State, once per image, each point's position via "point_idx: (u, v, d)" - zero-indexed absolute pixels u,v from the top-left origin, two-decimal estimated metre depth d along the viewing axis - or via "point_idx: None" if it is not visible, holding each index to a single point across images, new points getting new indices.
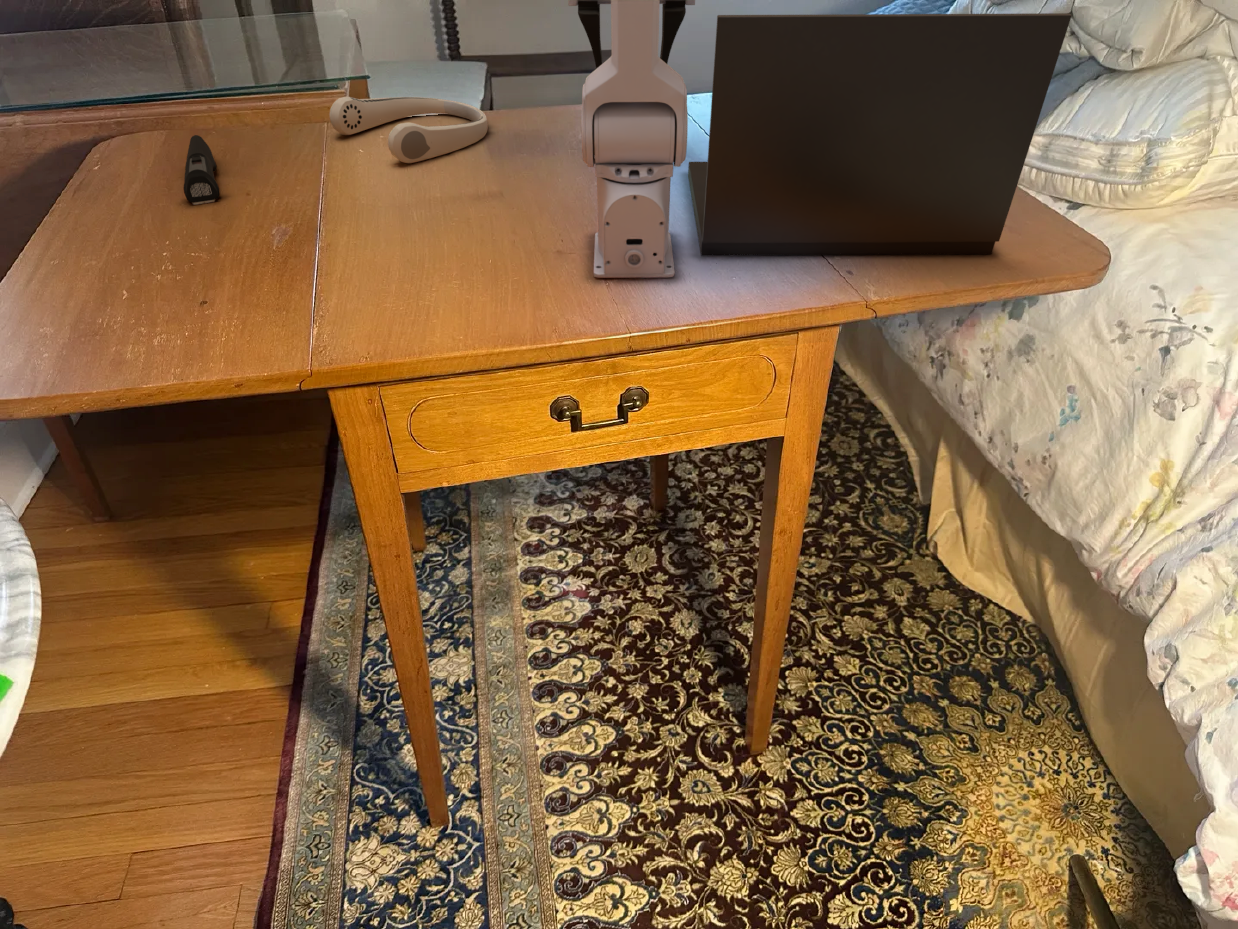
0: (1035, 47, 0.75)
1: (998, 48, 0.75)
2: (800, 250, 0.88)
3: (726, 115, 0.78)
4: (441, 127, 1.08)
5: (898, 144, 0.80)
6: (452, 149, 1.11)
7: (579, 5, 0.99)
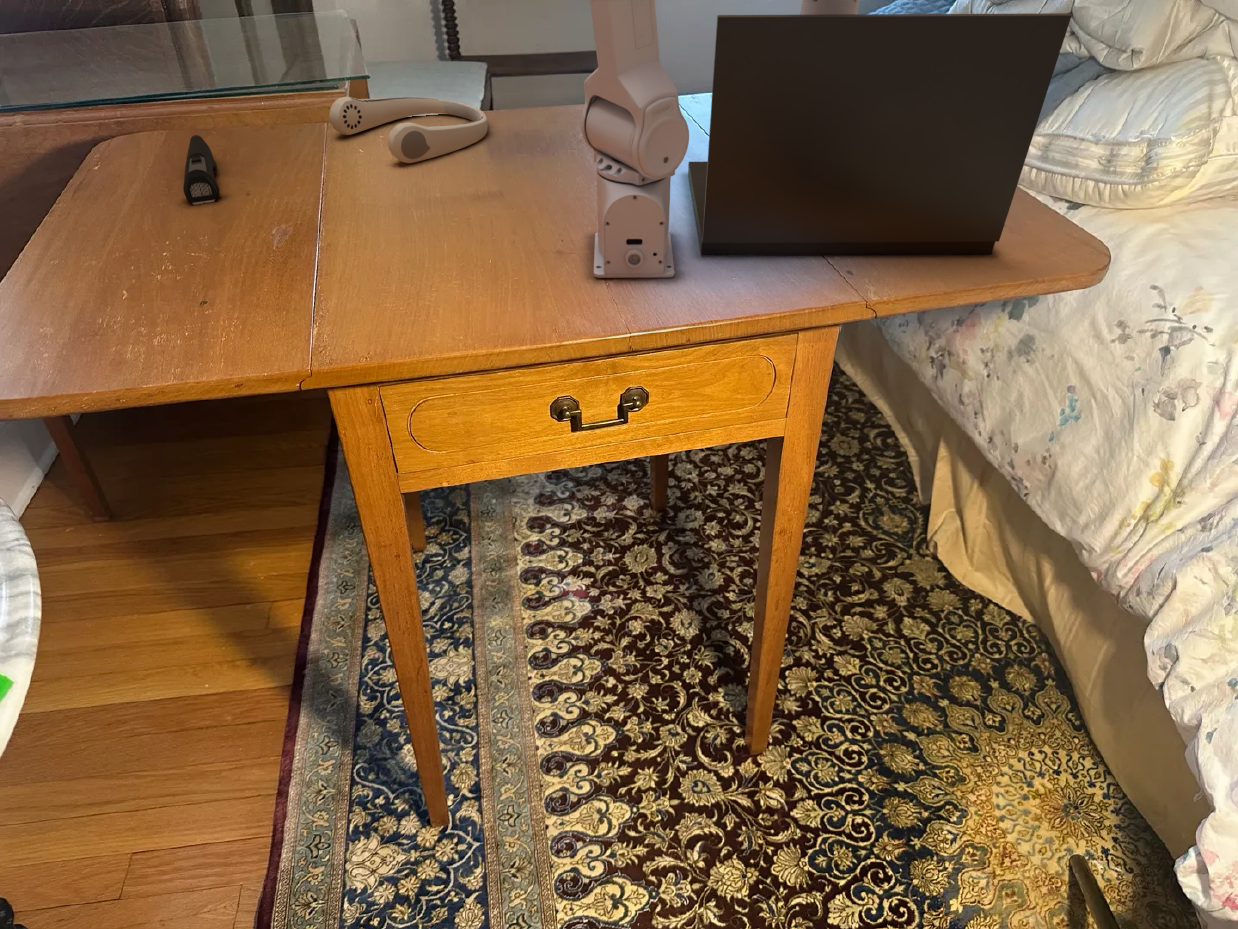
0: (1035, 47, 0.75)
1: (998, 48, 0.75)
2: (800, 250, 0.88)
3: (726, 115, 0.78)
4: (441, 127, 1.08)
5: (898, 144, 0.80)
6: (452, 149, 1.11)
7: None
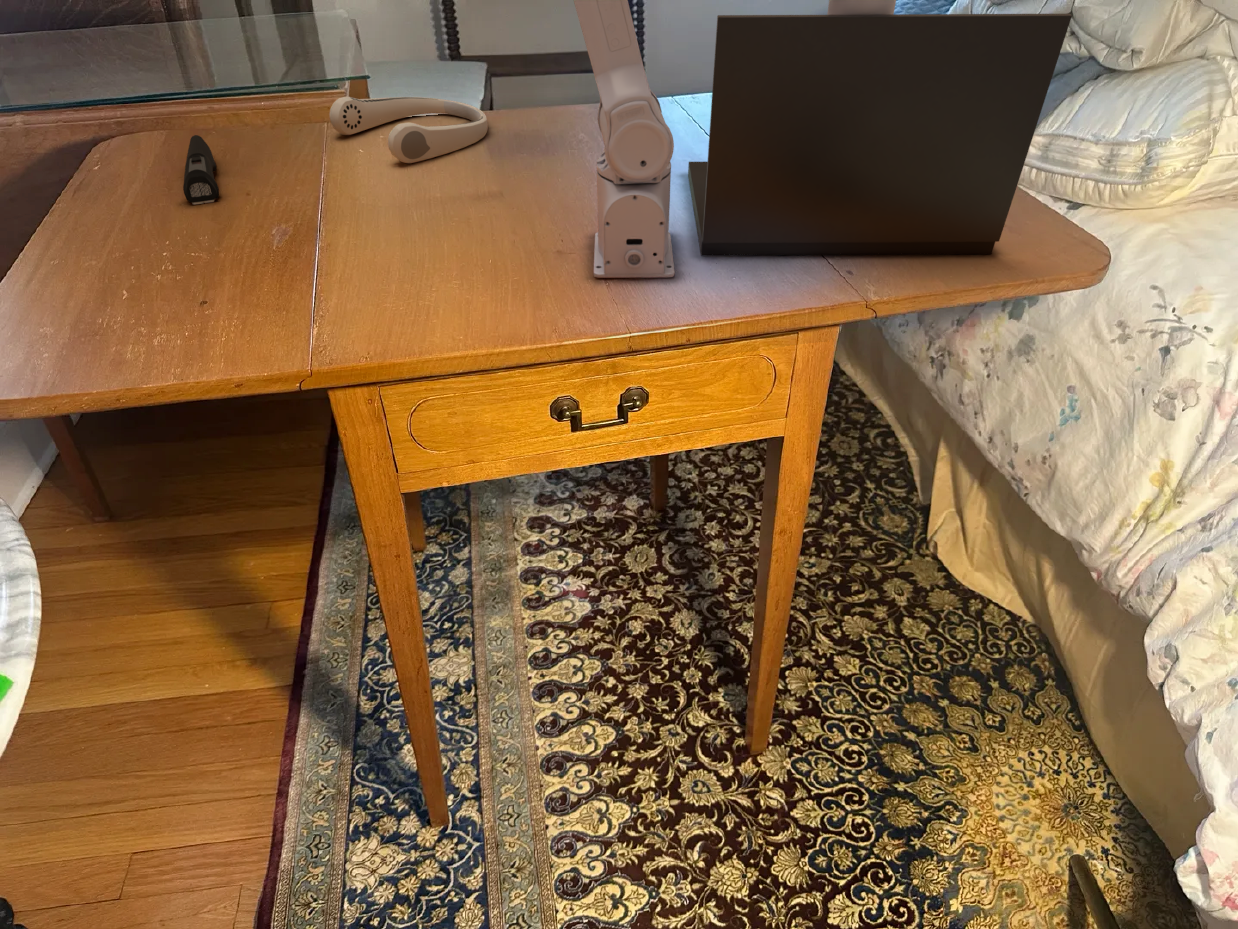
0: (1035, 47, 0.75)
1: (998, 48, 0.75)
2: (800, 250, 0.88)
3: (726, 115, 0.78)
4: (441, 127, 1.08)
5: (898, 144, 0.80)
6: (452, 149, 1.11)
7: None
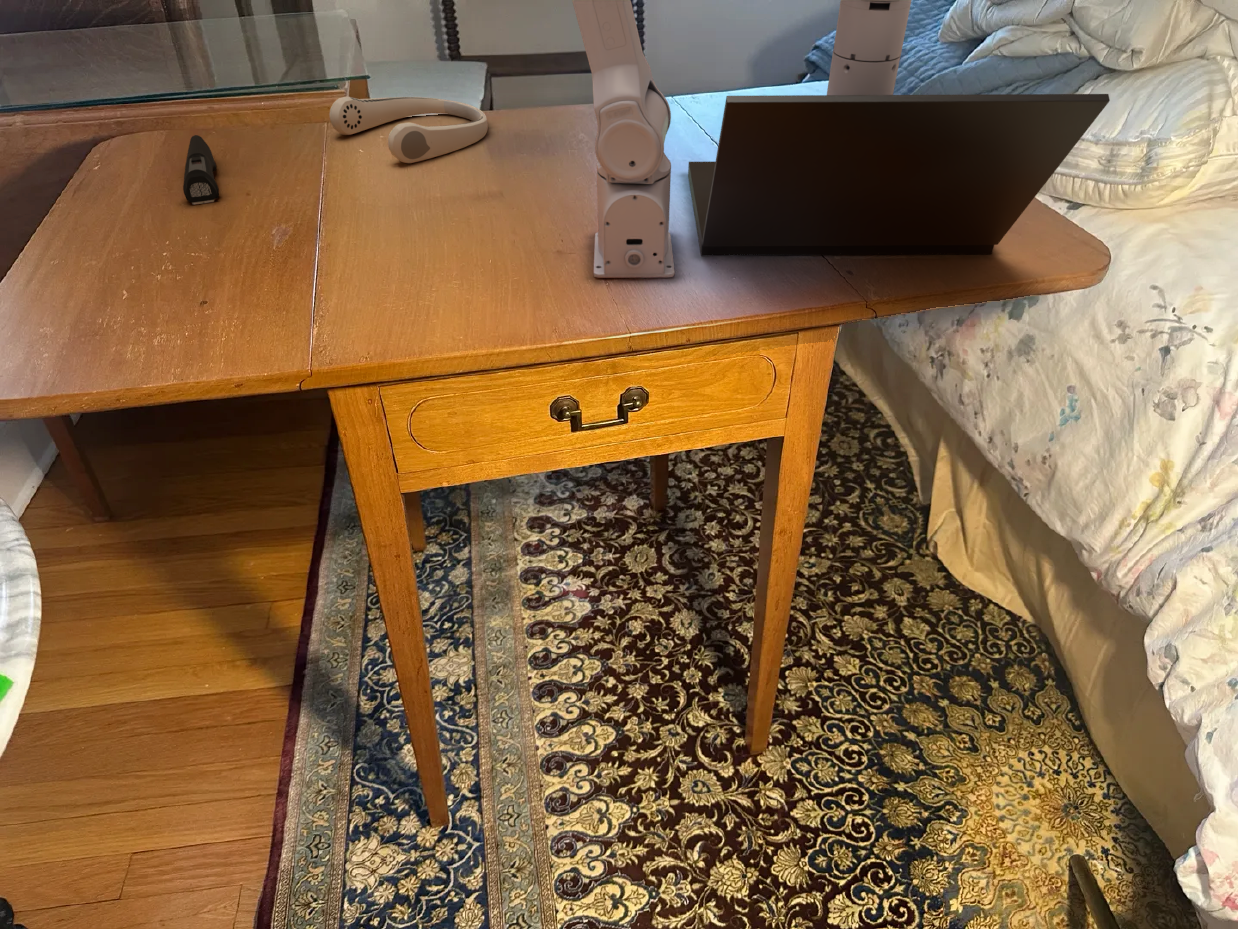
0: (1065, 122, 0.70)
1: (1025, 123, 0.70)
2: (800, 250, 0.88)
3: (731, 168, 0.75)
4: (441, 127, 1.08)
5: (907, 186, 0.78)
6: (452, 149, 1.11)
7: None
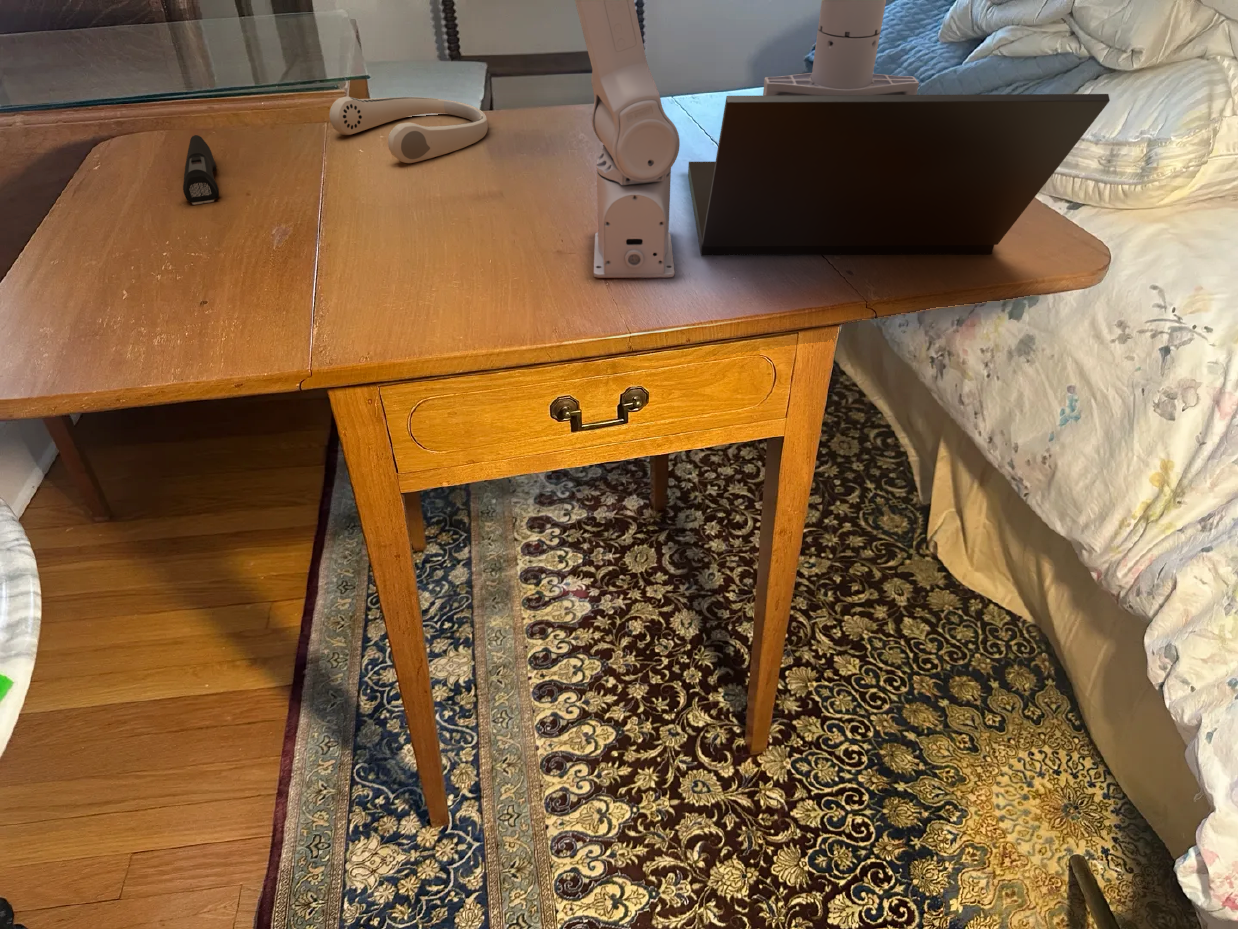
0: (1065, 122, 0.70)
1: (1025, 123, 0.70)
2: (800, 250, 0.88)
3: (731, 168, 0.75)
4: (441, 127, 1.08)
5: (907, 186, 0.78)
6: (452, 149, 1.11)
7: None
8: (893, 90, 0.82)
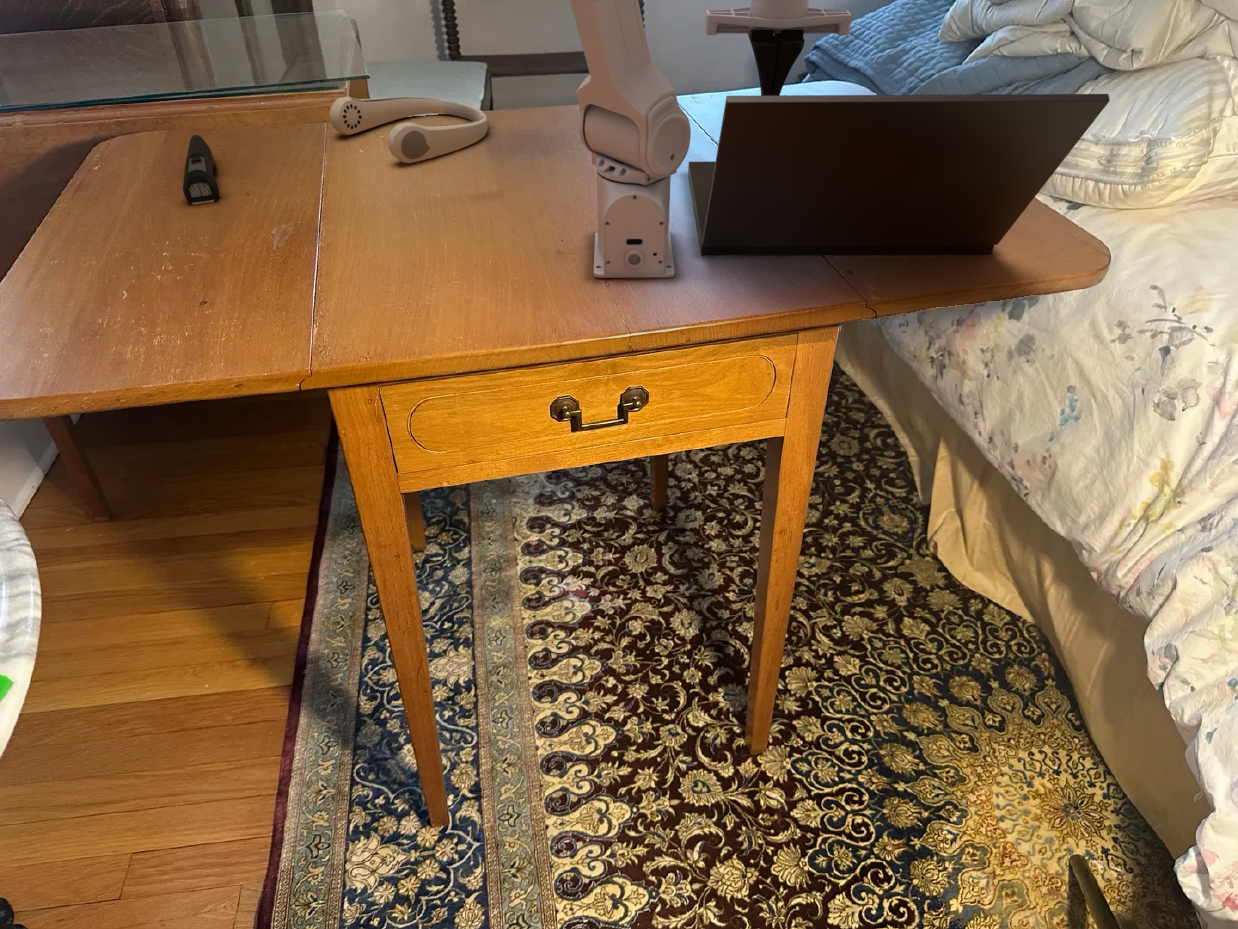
0: (1065, 122, 0.70)
1: (1025, 123, 0.70)
2: (800, 250, 0.88)
3: (731, 168, 0.75)
4: (441, 127, 1.08)
5: (907, 186, 0.78)
6: (452, 149, 1.11)
7: (753, 34, 0.88)
8: (827, 22, 0.86)
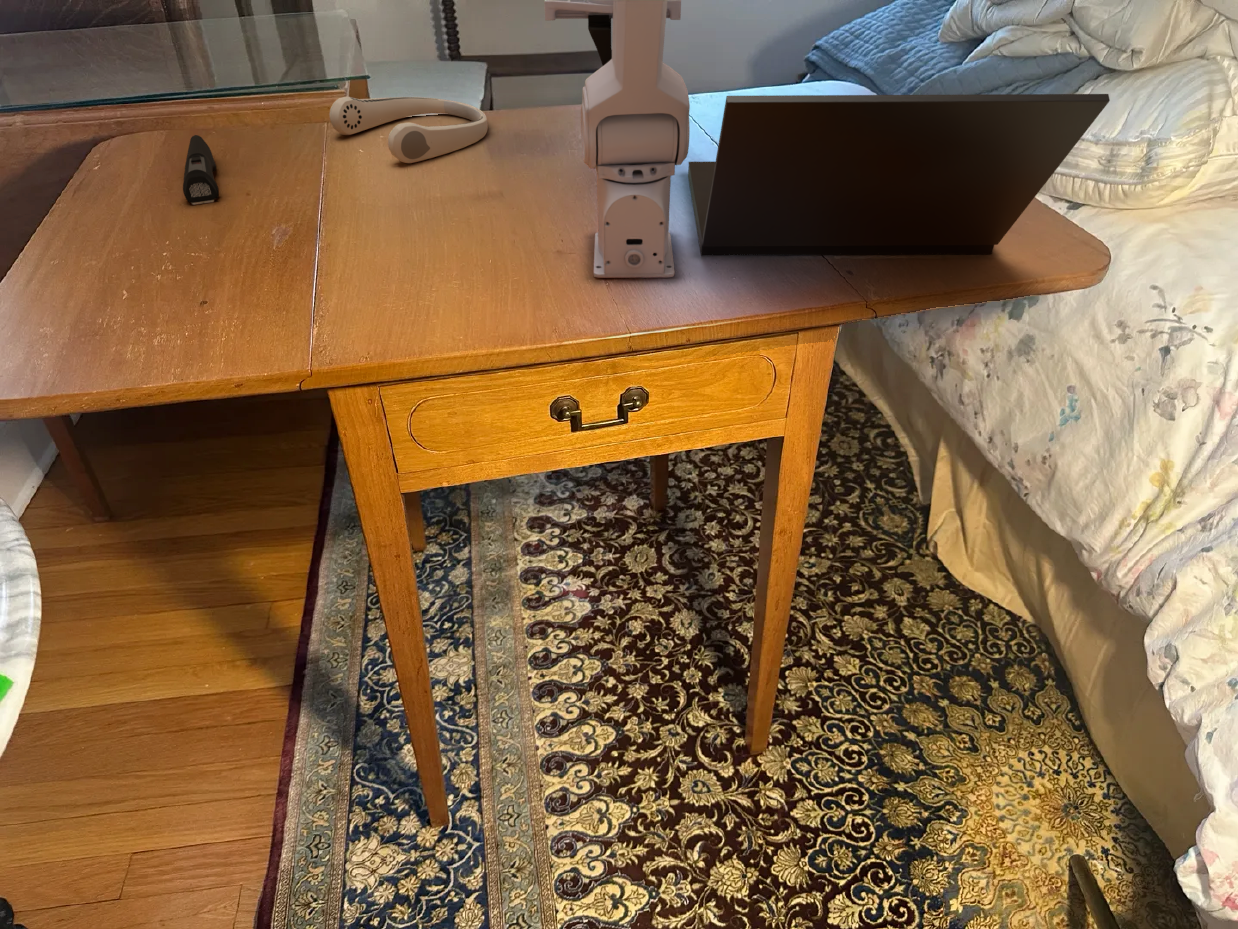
0: (1065, 122, 0.70)
1: (1025, 123, 0.70)
2: (800, 250, 0.88)
3: (731, 168, 0.75)
4: (441, 127, 1.08)
5: (907, 186, 0.78)
6: (452, 149, 1.11)
7: (589, 19, 0.92)
8: None
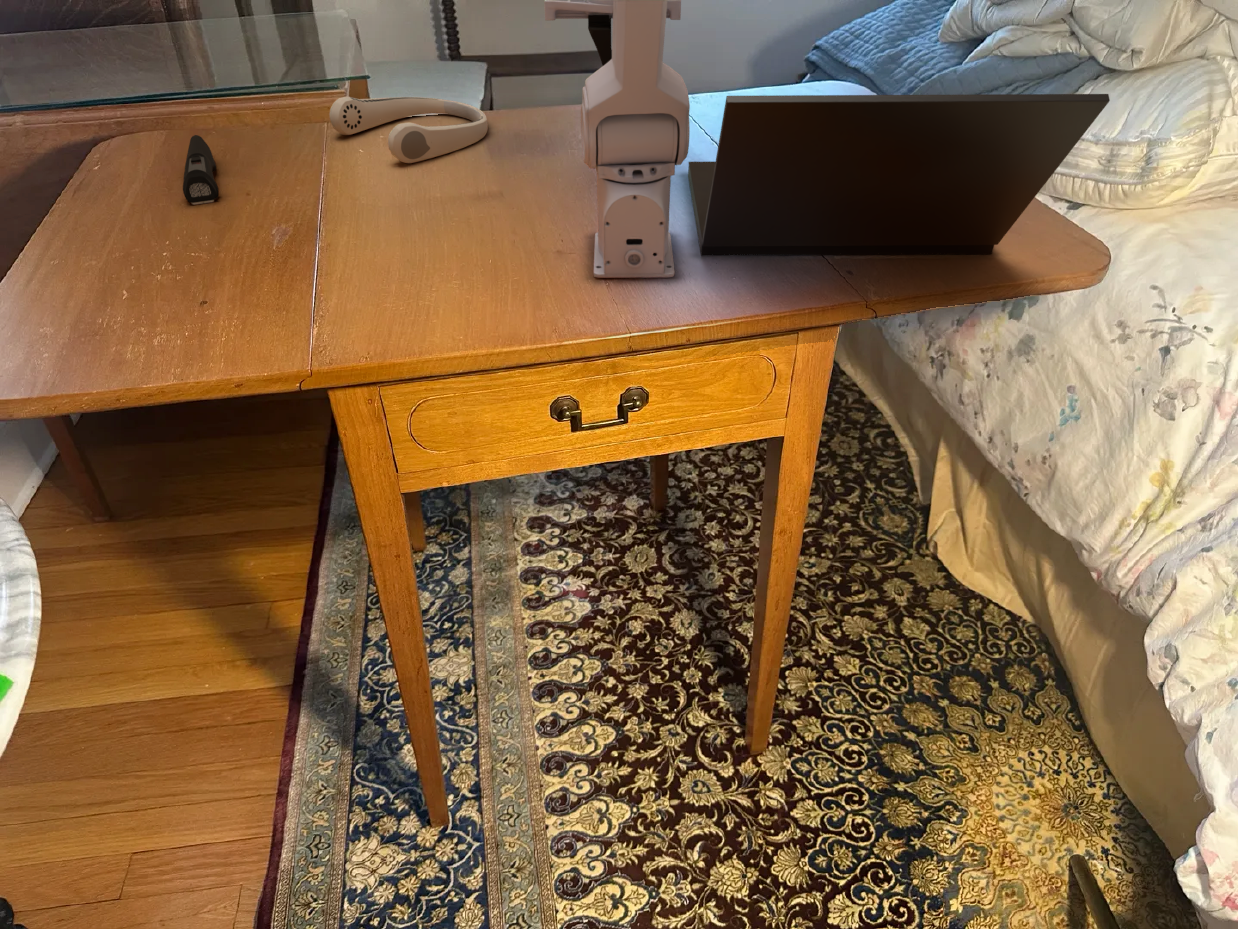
0: (1065, 122, 0.70)
1: (1025, 123, 0.70)
2: (800, 250, 0.88)
3: (731, 168, 0.75)
4: (441, 127, 1.08)
5: (907, 186, 0.78)
6: (452, 149, 1.11)
7: (589, 19, 0.92)
8: None
